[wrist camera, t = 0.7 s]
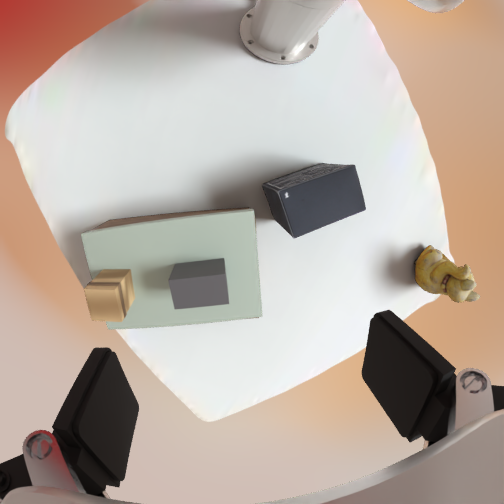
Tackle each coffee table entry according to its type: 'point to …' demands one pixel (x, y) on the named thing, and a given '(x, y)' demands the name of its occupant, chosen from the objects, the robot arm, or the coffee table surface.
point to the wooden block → (110, 295)
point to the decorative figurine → (444, 276)
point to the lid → (183, 268)
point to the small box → (314, 197)
